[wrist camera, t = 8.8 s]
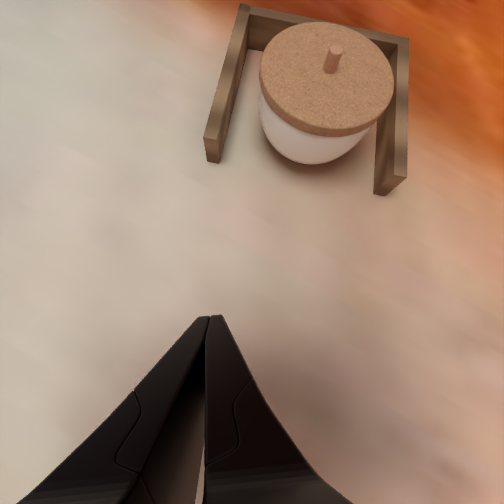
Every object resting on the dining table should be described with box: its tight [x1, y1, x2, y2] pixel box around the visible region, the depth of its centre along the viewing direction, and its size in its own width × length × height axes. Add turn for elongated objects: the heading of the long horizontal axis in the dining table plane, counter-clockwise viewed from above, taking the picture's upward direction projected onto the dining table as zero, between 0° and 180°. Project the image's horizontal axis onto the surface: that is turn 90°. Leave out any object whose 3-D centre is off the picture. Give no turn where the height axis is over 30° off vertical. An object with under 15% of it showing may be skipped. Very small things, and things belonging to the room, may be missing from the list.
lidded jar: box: [259, 22, 394, 164], centre depth 23 cm, size 11×11×9 cm
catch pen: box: [203, 4, 409, 196], centre depth 27 cm, size 17×18×4 cm
